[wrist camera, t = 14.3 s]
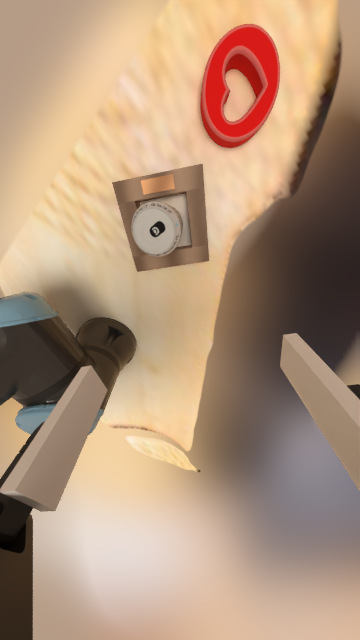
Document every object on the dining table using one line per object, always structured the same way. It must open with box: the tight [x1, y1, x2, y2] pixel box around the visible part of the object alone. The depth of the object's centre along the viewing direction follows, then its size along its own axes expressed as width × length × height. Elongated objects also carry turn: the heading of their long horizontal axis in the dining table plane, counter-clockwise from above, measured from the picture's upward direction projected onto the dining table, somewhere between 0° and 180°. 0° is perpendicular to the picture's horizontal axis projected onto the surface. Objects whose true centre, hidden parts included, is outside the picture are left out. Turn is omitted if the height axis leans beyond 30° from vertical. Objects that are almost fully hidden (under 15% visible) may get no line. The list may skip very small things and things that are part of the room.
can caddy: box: [112, 164, 209, 272], centre depth 31 cm, size 14×14×3 cm
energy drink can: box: [131, 201, 183, 257], centre depth 26 cm, size 6×6×15 cm
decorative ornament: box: [201, 24, 280, 148], centre depth 23 cm, size 10×10×3 cm
